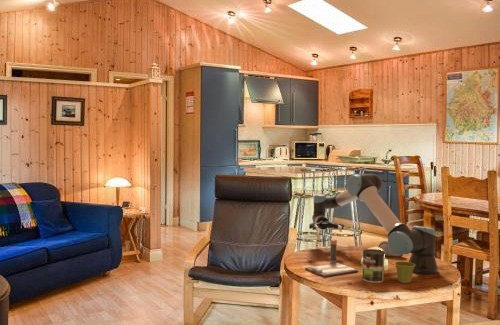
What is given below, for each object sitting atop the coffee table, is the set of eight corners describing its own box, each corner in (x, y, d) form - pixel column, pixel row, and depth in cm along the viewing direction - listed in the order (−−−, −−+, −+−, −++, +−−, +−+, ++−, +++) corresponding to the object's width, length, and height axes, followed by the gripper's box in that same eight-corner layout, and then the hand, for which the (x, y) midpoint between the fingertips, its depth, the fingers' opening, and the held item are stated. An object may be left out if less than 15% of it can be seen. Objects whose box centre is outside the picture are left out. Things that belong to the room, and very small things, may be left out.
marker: (337, 263, 270) (338, 240, 270) (332, 264, 269) (333, 241, 268) (333, 262, 273) (334, 239, 273) (328, 263, 272) (329, 239, 271)
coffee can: (376, 284, 234) (377, 255, 233) (358, 279, 241) (358, 251, 241) (387, 280, 241) (388, 251, 240) (369, 275, 249) (370, 248, 248)
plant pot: (414, 285, 233) (415, 267, 233) (394, 283, 237) (394, 265, 236) (414, 279, 242) (415, 262, 242) (394, 277, 245) (395, 260, 245)
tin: (404, 256, 289) (405, 242, 288) (404, 258, 286) (404, 243, 285) (378, 254, 294) (378, 240, 294) (377, 255, 291) (378, 241, 291)
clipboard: (358, 271, 255) (358, 267, 255) (324, 277, 244) (324, 273, 244) (338, 264, 269) (338, 260, 269) (305, 269, 258) (305, 265, 258)
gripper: (342, 228, 302) (350, 236, 281) (301, 228, 301) (307, 235, 280) (342, 216, 302) (351, 223, 281) (302, 215, 301) (307, 222, 279)
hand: (329, 229), depth 280 cm, fingers open, 13 cm apart
